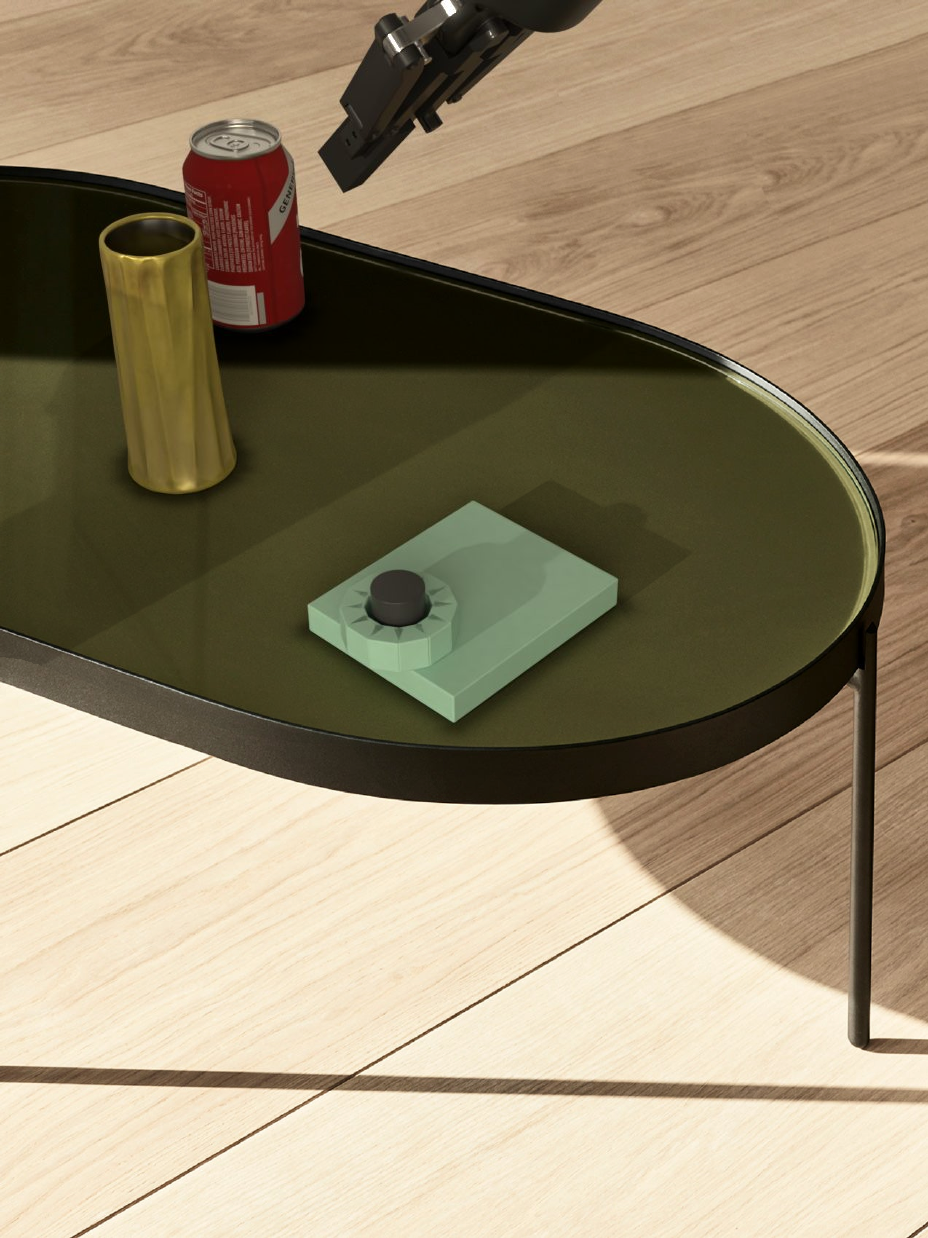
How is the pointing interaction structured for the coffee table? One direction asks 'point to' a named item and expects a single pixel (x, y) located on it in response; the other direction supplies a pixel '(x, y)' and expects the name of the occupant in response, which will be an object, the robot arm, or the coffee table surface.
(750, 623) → the coffee table surface
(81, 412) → the coffee table surface
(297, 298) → the soda can
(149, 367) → the vase
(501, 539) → the scale
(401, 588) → the tare button
